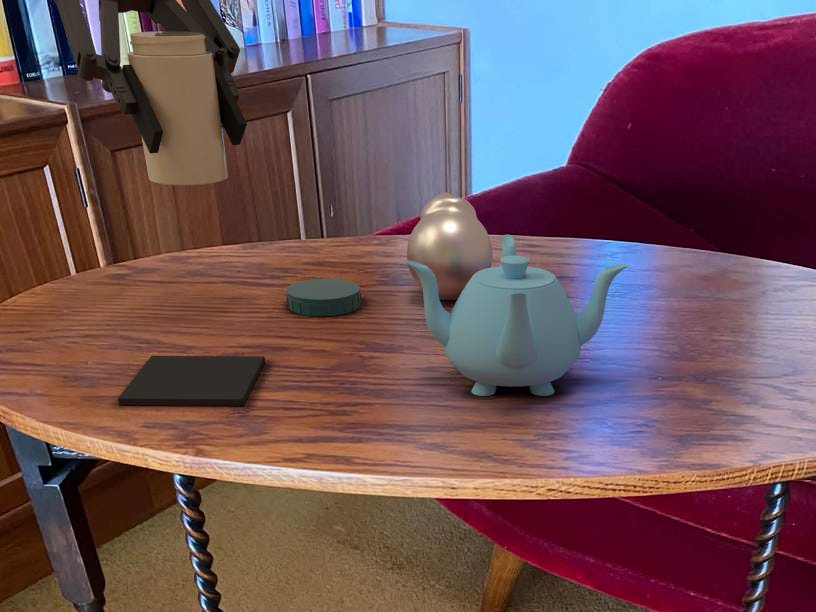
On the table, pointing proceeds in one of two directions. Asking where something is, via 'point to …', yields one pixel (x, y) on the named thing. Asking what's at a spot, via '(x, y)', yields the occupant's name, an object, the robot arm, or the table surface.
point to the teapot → (513, 323)
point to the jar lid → (323, 297)
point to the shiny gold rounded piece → (449, 244)
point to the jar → (181, 107)
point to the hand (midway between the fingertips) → (199, 138)
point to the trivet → (194, 381)
